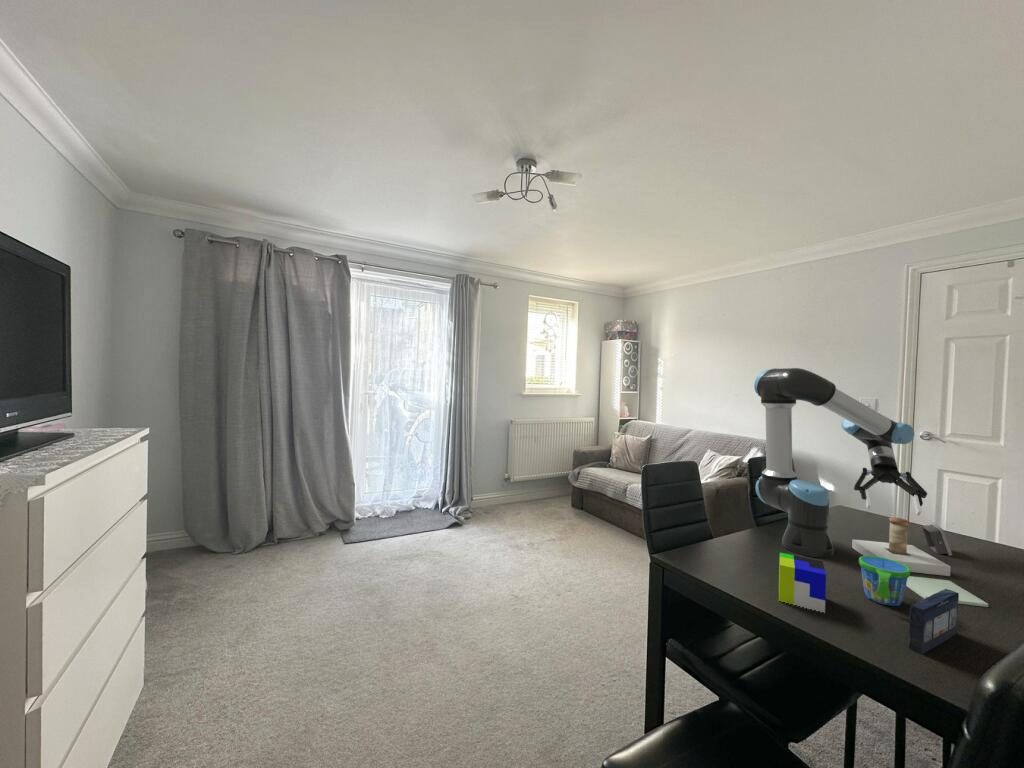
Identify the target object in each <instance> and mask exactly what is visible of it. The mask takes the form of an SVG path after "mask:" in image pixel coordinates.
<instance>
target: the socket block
mask: <svg viewBox="0 0 1024 768" xmlns="http://www.w3.org/2000/svg"><path fill="white" fill-rule="evenodd" d="M851 541H852V542H851V549H854V550H855V551H856V552H858V553H859V554H861V556H877V557H882V558H887V559H890V560H894V561H897V562H899V563H902V564H904V565H905V566H907V567H908V568H909V569H910V573H918V574H927V575H937V576H945V577H951V566H950V565H949V564H947V563H945V562H943V561H942V560H939V559H938V558H936V557H934V556H932V555H931V554H929V553H927V552H925V551H923V550H922V549H919V548H918V547H916V546H915V545H912V544H907V555H898V554H893V553H891V552H889V542H883V541H874V540H863V539H852V540H851Z"/></svg>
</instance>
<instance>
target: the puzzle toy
mask: <svg viewBox="0 0 1024 768" xmlns="http://www.w3.org/2000/svg"><path fill="white" fill-rule="evenodd" d="M778 564H779V565H778V567H779V569H778V602H779V601H781V602H780V603H782V602H785V603H784V604H786V603H789V604H788V605H790V604H793V605H792V606H794V605H797V606H796V607H798V606H800V607H799V608H802V607H804V608H803V609H806V608H807V610H810V609H812V610H811V611H814V610H816V611H815V612H818V611H820V612H819V613H822V612H824V613H823V614H826V591H827V589H826V588H827V573H826V570H825V565H824V562H823V560H819V559H814V558H809V557H808V558H807V557H804V556H799V555H794V554H790V553H789V554H788V553H785V552H784V553H783V552H779V562H778Z"/></svg>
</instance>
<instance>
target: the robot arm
mask: <svg viewBox="0 0 1024 768" xmlns="http://www.w3.org/2000/svg"><path fill="white" fill-rule="evenodd" d="M753 383H754V385H753V387H754V391H755V393H756V394H757V396H758V397H760V404H761V405H762V406H763V407H764V408H765V460H766V461H765V463H766V465H765V466H766V468H764V469H763V470H762V471H761V476H760V477H758V479H757V480H756V483H755V492H756V495H757V497H758V499H759V500H760V501H761V502H763V504H766V505H768V506H770V507H772V508H775V509H778V510H780V511H783V512H785V513H787V514H788V515H787V516H788V517H787V519H788V522H787V526H786V529H785V531H784V533H783V535H782V538H781V545H782V547H783V548H785V549H786V550H788V551H790V552H793V553H796V554H798V555H803V556H807V557H813V558H821V559H822V558H824V559H825V558H831V557H834V551H835V550H834V545H833V541H832V539H831V537H830V534H829V517H830V515H829V514H830V494H829V490H828V489H827V488H826V487H825V486H823V485H822V484H819V483H816V482H813V481H808V480H804V479H798V474H797V473H796V472H795V471H794V470H793V424H792V423H793V419H792V417H793V416H792V415H793V414H792V412H793V411H792V409H793V408H794V407H795V405H797V401H801V402H802V401H803V402H807V403H810V404H812V405H814V406H816V407H823V408H824V409H827V410H828V411H831V412H832V413H834V414H836V415H838V416H839V417H841V418H843V419H842V420H841V425H840V426H841V428H842V430H843V431H845V432H846V433H847V434H849V435H850V436H852V437H854V438H855V439H856V440H859V441H860V442H861V443H863V444H864V445H866V447H867V451H868V456H869V457H868V458H869V462H870V467H871V469H868V468H867V467H862V470H861V475H860V476H859V477H858V479H857V480H856V482H855V484H854V486H853V490H854V491H859V494H860V496H861V497H860V498H861V499H862V500H865V505H866V509H867V510H870V509H871V507H872V503H871V498H870V492H869V488H871V487H872V486H874V485H876V484H877V483H878V482H881V483H882V484H884V483H888V484H894V485H895V486H897V487H900V488H901V489H902V490H903V491H905V492H906V493H908V494H909V495H910V496H912V503H913V507H914V510H915V513H916V514H915V515H916V516H920V515H921V513H922V508H921V507H922V506H923V504H924V503H923V499H926V498H927V496H928V492H927V491H926V490H925V489H924V488H923V487H922V486H921V485H920V484H919V483H918V482H917V480H915V479H914V478H913V477H912V475H911V472H909V471H905V472H900V471H899V468H898V465H897V461H896V455H895V453H894V452H895V451H894V449H893V444H895V445H907V444H909V443H911V442H912V441H913V439H914V437H915V430H914V428H913V426H911V424H909V423H903V422H897V421H894V420H893V419H890V418H889V417H888V416H885V415H883V414H881V412H879V411H876V410H875V409H873V408H872V407H869V406H868V405H866V404H864V403H862V402H860V401H859V400H858V399H856V398H853V397H852V396H850V395H849V394H847V393H845V392H843V391H841V390H839V389H838V388H837V386H836V385H835V383H833V382H832V381H830V380H828V379H827V378H825V377H823V376H821V375H819V374H817V373H815V372H812V371H810V370H808V369H804V368H800V367H793V368H792V367H789V368H770V369H769V368H768V369H765V370H763V371H761V372H760V373H759V374H758V375H757V376H756V378H755V380H754V382H753ZM870 474H871V475H872V476H873V477H872V478H871V479H870V480H867V482H865V483H864V484H863V485H862V483H863V482H864V480H865V479H866V477H867V476H869V475H870Z"/></svg>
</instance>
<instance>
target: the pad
mask: <svg viewBox="0 0 1024 768" xmlns="http://www.w3.org/2000/svg"><path fill="white" fill-rule="evenodd" d="M907 587H908V589H910V590H911V591H913V592H914V593H915V594H917V595H918V596H920V597H921V598H922V599H925V598H927V597H930V596H931V595H933V594H935V593H938V592H940V591H942V590H944V589H948V590H952V591H954V592H957V593H959V600H958V605H959V604H962V605H968V606H975V607H976V606H978V607H984V608H989V603H987V602H985V601H984V600H982V599H981V598H979V597H978V596H976V595H975V594H972V593H971V592H969V591H967V590H966V589H963V587H961V586H959V585H958V584H955V583H954V582H953V581H952V580H948V579H947V580H946V579H940V578H929V577H921V576H911V575H910V576H909V577H908V578H907V583H906V588H907Z"/></svg>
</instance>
